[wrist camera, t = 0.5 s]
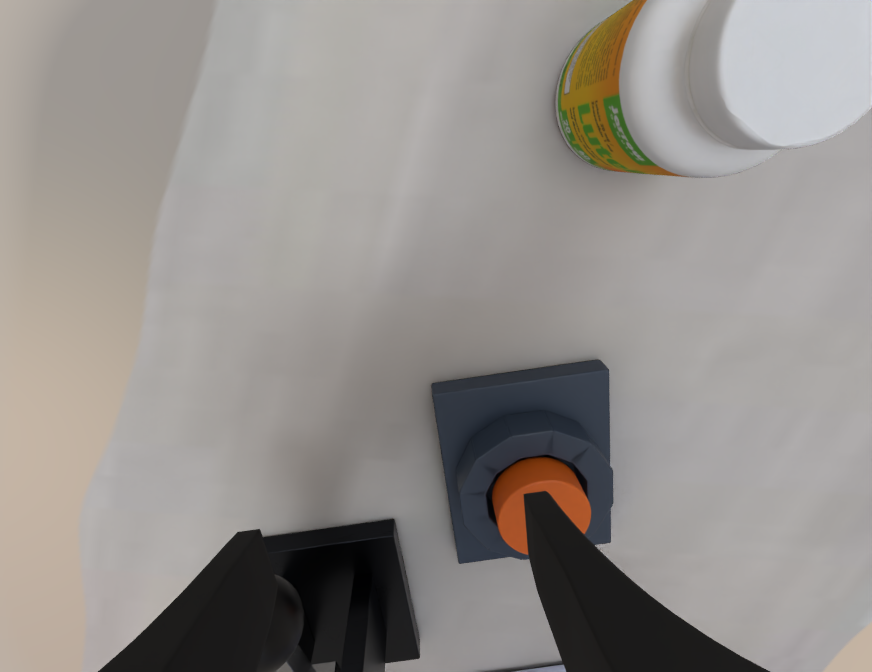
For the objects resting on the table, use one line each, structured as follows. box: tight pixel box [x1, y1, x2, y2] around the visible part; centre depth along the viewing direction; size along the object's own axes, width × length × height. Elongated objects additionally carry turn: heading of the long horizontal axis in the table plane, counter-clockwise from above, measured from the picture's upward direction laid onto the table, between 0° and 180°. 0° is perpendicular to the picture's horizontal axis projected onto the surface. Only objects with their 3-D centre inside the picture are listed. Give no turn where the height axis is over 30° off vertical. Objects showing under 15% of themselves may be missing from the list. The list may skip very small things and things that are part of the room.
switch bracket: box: [263, 519, 420, 672], centre depth 23 cm, size 9×8×8 cm
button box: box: [432, 360, 613, 564], centre depth 23 cm, size 10×8×3 cm
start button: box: [492, 457, 591, 555], centre depth 21 cm, size 4×4×2 cm
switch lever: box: [256, 575, 341, 672], centre depth 19 cm, size 11×3×3 cm, turn 8°
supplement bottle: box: [555, 0, 872, 178], centre depth 14 cm, size 5×5×10 cm
